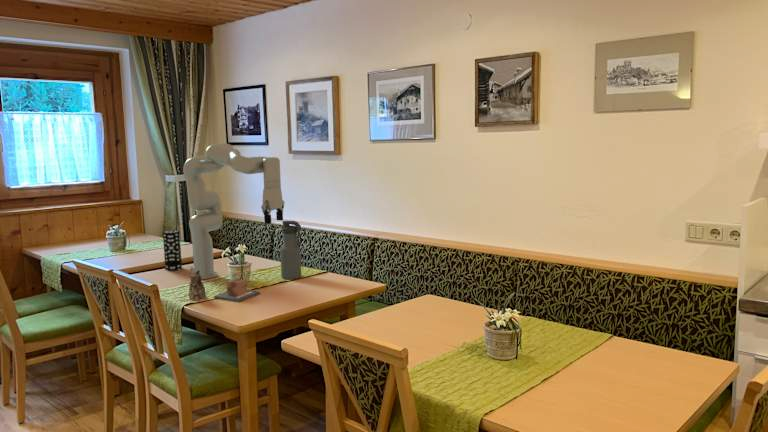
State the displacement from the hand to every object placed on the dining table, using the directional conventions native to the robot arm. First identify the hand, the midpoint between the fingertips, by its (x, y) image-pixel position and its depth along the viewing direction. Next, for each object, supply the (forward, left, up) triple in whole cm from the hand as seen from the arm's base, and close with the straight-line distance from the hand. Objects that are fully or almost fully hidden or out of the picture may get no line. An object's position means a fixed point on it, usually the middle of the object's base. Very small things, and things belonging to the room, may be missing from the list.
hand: (273, 221), depth 276 cm
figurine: (-21, -29, -31) cm, 48 cm away
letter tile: (-7, -19, -31) cm, 37 cm away
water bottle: (-4, +18, -31) cm, 36 cm away
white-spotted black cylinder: (-71, +6, -31) cm, 78 cm away
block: (-7, -19, -30) cm, 36 cm away
